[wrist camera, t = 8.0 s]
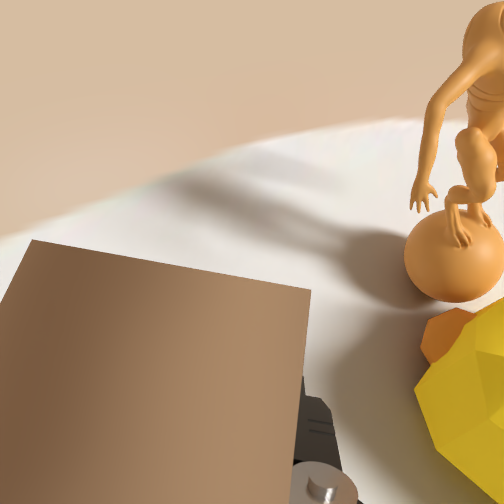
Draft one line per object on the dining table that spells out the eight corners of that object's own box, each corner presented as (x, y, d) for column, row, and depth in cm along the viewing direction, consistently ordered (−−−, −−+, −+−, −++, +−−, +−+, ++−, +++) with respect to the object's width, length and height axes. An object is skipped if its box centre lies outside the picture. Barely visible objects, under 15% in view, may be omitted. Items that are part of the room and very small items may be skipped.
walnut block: (259, 418, 17) (311, 289, 8) (233, 589, 14) (272, 658, 6) (120, 392, 17) (31, 238, 8) (69, 557, 14) (-136, 578, 6)
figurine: (408, 365, 19) (631, 171, 9) (309, 264, 22) (402, 16, 11) (519, 261, 23) (774, 32, 13) (423, 182, 25) (575, -69, 15)
